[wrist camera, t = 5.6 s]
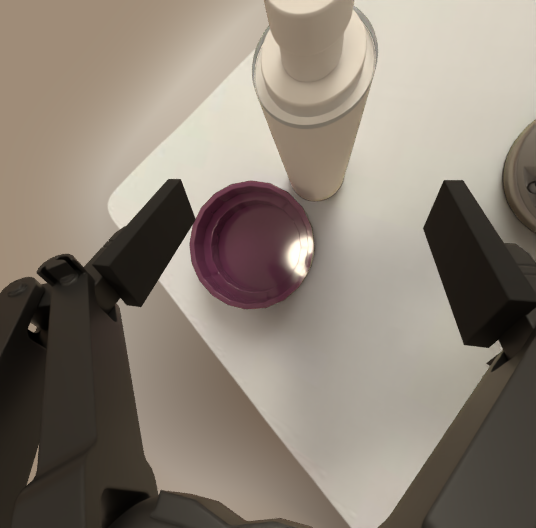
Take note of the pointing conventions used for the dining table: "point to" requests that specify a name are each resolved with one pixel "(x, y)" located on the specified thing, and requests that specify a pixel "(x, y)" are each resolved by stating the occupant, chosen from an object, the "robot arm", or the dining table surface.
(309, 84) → the spray bottle
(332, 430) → the dining table surface
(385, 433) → the dining table surface
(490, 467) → the robot arm
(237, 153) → the dining table surface
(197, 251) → the bowl
